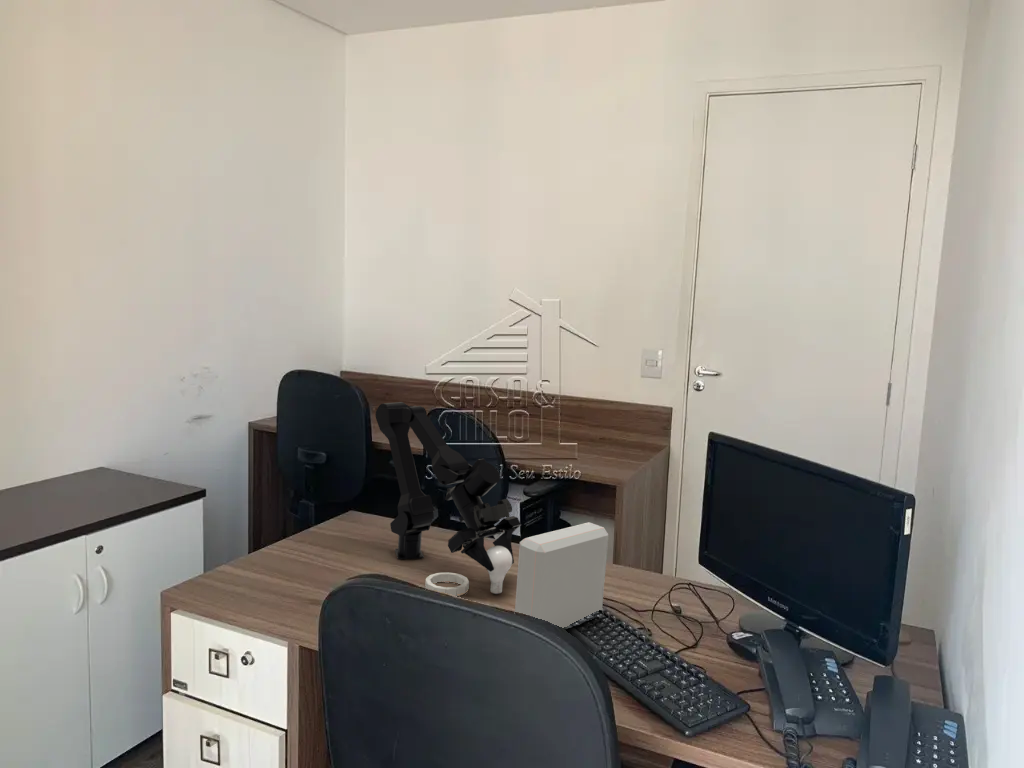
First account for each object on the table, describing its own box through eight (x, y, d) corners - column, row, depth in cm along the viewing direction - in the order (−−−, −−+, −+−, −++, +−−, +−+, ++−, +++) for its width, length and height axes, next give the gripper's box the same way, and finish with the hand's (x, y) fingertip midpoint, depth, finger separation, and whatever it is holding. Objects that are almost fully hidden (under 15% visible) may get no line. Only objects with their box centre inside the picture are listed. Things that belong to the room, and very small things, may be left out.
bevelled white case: (576, 606, 165) (583, 518, 163) (604, 619, 160) (612, 528, 157) (505, 631, 151) (512, 535, 148) (534, 647, 145) (541, 547, 143)
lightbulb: (506, 601, 165) (510, 553, 164) (478, 597, 167) (481, 549, 165) (512, 590, 171) (515, 543, 170) (485, 586, 173) (488, 540, 171)
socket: (422, 581, 173) (423, 573, 173) (463, 579, 176) (463, 571, 175) (429, 598, 164) (429, 590, 164) (471, 596, 167) (472, 588, 166)
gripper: (460, 495, 162) (493, 559, 156) (518, 482, 175) (551, 541, 170) (433, 520, 168) (464, 583, 162) (491, 506, 182) (522, 564, 176)
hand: (502, 567), depth 167 cm, fingers closed on lightbulb, 6 cm apart
